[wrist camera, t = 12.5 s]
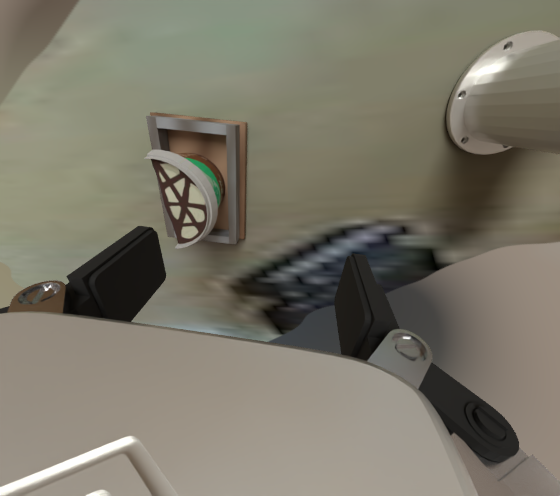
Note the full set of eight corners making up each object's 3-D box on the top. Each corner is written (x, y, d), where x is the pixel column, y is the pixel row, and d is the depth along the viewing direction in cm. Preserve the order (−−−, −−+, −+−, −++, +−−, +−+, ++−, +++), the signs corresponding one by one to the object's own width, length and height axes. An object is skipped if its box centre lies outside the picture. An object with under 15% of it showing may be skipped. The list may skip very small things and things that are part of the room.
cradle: (247, 122, 32) (241, 123, 29) (245, 236, 41) (241, 246, 38) (154, 112, 32) (139, 112, 29) (173, 228, 41) (163, 237, 38)
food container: (238, 220, 39) (221, 251, 30) (202, 221, 39) (176, 252, 30) (225, 138, 32) (199, 149, 24) (182, 141, 33) (142, 152, 24)
